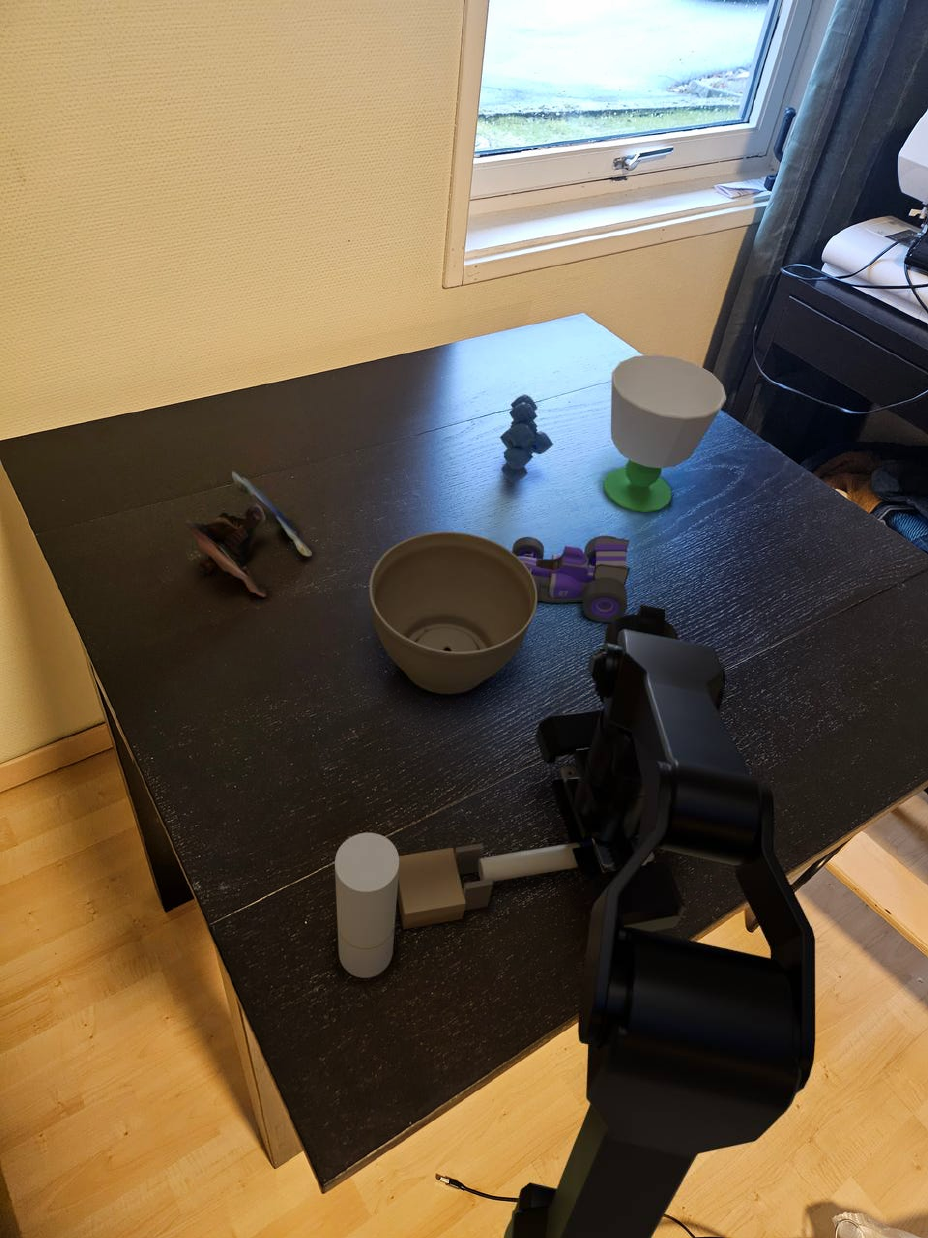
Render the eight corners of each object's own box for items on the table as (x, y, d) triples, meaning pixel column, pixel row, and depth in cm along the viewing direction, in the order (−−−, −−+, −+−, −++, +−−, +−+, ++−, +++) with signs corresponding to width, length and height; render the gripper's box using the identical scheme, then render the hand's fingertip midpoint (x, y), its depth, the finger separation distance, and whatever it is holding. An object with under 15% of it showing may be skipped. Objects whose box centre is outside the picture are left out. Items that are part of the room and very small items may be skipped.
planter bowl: (339, 685, 86) (337, 611, 78) (411, 586, 97) (416, 512, 89) (485, 748, 83) (498, 677, 75) (543, 637, 93) (561, 565, 85)
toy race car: (496, 549, 102) (502, 507, 97) (620, 568, 102) (633, 526, 97) (488, 606, 95) (494, 564, 91) (621, 626, 95) (635, 585, 90)
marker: (601, 868, 73) (606, 856, 71) (482, 888, 71) (484, 877, 69) (593, 845, 74) (598, 833, 73) (476, 865, 72) (479, 853, 70)
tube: (368, 989, 66) (369, 904, 55) (327, 954, 68) (321, 865, 57) (403, 946, 69) (412, 857, 58) (363, 914, 70) (364, 821, 59)
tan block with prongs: (489, 914, 71) (495, 891, 68) (403, 930, 70) (405, 907, 67) (475, 859, 74) (481, 835, 71) (393, 873, 73) (394, 849, 70)
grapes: (543, 510, 108) (559, 430, 99) (490, 503, 108) (502, 422, 99) (547, 456, 116) (562, 377, 107) (497, 449, 116) (509, 370, 107)
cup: (672, 458, 118) (706, 354, 106) (702, 524, 109) (743, 418, 97) (575, 458, 116) (599, 352, 104) (598, 525, 107) (627, 417, 95)
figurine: (311, 556, 105) (231, 486, 102) (343, 519, 98) (258, 444, 96) (241, 633, 94) (150, 556, 92) (272, 597, 88) (175, 514, 86)
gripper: (782, 862, 58) (713, 952, 70) (677, 655, 70) (633, 761, 82) (630, 889, 56) (584, 978, 67) (549, 670, 68) (521, 777, 79)
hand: (584, 864), depth 74 cm, fingers closed on marker, 2 cm apart
